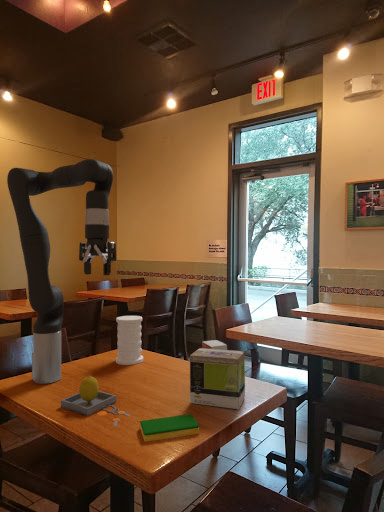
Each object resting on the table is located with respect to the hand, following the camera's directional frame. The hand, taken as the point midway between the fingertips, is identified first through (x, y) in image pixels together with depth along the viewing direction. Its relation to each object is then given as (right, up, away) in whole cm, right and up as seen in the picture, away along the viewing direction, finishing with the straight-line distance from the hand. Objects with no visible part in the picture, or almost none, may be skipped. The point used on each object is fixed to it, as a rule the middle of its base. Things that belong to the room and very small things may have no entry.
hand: (97, 274), depth 116 cm
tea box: (+38, -38, -5) cm, 54 cm away
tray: (0, -38, -8) cm, 39 cm away
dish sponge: (+25, -39, -24) cm, 52 cm away
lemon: (0, -38, -8) cm, 39 cm away
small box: (+38, -38, +14) cm, 56 cm away
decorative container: (+4, -38, +37) cm, 53 cm away
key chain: (+8, -39, -15) cm, 42 cm away
